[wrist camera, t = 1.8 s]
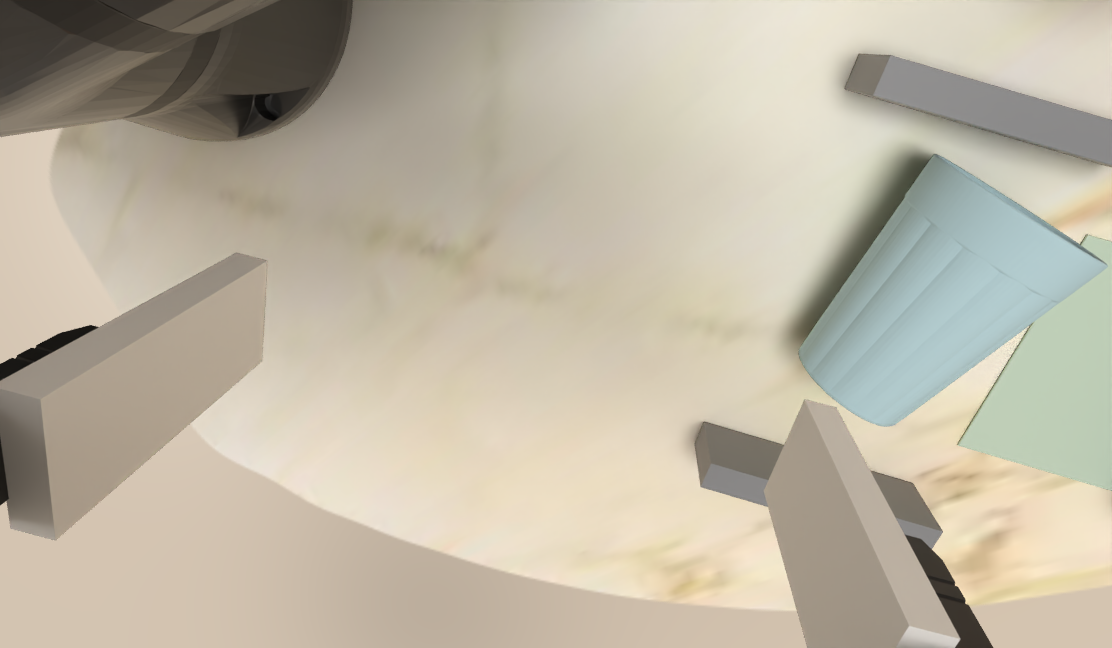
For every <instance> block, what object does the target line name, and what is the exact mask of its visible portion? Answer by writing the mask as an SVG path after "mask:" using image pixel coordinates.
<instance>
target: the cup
mask: <svg viewBox="0 0 1112 648" xmlns="http://www.w3.org/2000/svg"><path fill="white" fill-rule="evenodd" d="M1107 267H1108V265H1107V264H1106V263H1105V262H1104V261H1103V260H1101V259H1100V258H1098V257H1097V256H1096V255H1094V254H1093V253H1091V252H1090V251H1089V250H1087V249H1086V248H1084V247H1083V246H1081V245H1080V244H1078V243H1077V242H1075V241H1074V240H1072V239H1071V238H1069V237H1068V236H1066V235H1065V234H1063V233H1062V232H1060V231H1059V230H1057V229H1056V228H1054V227H1053V226H1051V225H1050V224H1048V223H1047V222H1045V221H1044V220H1042V219H1041V218H1039V217H1037V216H1036V215H1034V214H1033V213H1031V212H1030V211H1028V210H1027V209H1025V208H1024V207H1022V206H1021V205H1019V204H1017V203H1016V202H1014V201H1013V200H1011V199H1010V198H1008V197H1006V196H1005V195H1003V194H1002V193H1000V192H999V191H997V190H995V189H994V188H992V187H991V186H989V185H987V184H986V183H984V182H983V181H981V180H980V179H978V178H976V177H975V176H973V175H971V174H970V173H968V172H967V171H965V170H963V169H962V168H960V167H958V166H957V165H955V164H953V163H952V162H950V161H948V160H947V159H945V158H943V157H941V156H939V155H937V154H934V155H933V156H932V157H931V159H930V160H929V162H928V163H927V165H926V166H925V167H924V169H923V170H922V172H921V173H920V175H919V176H918V177H917V179H916V180H915V182H914V183H913V185H912V186H911V188H910V189H909V190H908V192H907V193H906V195H905V198H904V199H903V201H902V202H901V203H900V205H899V206H898V208H897V209H896V211H895V212H894V213H893V215H892V216H891V218H890V219H889V221H888V222H887V223H886V225H885V226H884V228H883V229H882V231H881V232H880V233H879V235H878V236H877V238H876V239H875V241H874V242H873V243H872V245H871V246H870V248H869V249H868V251H867V252H866V253H865V255H864V256H863V258H862V259H861V261H860V262H859V263H858V265H857V266H856V268H855V269H854V271H853V272H852V273H851V275H850V276H849V278H848V279H847V281H846V282H845V283H844V285H843V286H842V288H841V289H840V291H839V292H838V293H837V295H836V296H835V298H834V299H833V300H832V302H831V303H830V305H829V306H828V308H827V309H826V310H825V312H824V313H823V315H822V316H821V318H820V319H819V320H818V322H817V323H816V325H815V326H814V328H813V329H812V331H811V332H810V333H809V335H808V336H807V338H806V339H805V341H804V342H803V344H802V345H801V347H800V349H799V357H800V360H801V362H802V364H803V366H804V368H805V369H806V371H807V372H808V373H809V375H810V376H811V377H812V378H813V380H814V381H815V382H816V383H817V384H818V385H819V386H820V387H821V388H822V389H823V390H824V391H825V392H826V393H827V394H828V395H829V396H831V397H832V398H833V399H834V400H835V401H837V402H838V403H839V404H841V405H842V406H843V407H845V408H846V409H847V410H849V411H850V412H852V413H853V414H855V415H857V416H858V417H860V418H862V419H864V420H866V421H868V422H870V423H873V424H876V425H879V426H886V427H887V426H893V425H895V424H896V423H898V422H899V421H901V420H902V419H904V418H905V417H906V416H908V415H909V414H910V413H912V412H913V411H915V410H916V409H917V408H919V407H920V406H921V405H923V404H924V403H925V402H927V401H928V400H930V399H931V398H932V397H934V396H935V395H936V394H938V393H939V392H940V391H942V390H943V389H944V388H946V387H947V386H948V385H950V384H951V383H952V382H954V381H955V380H956V379H958V378H959V377H961V376H962V375H963V374H965V373H966V372H967V371H969V370H970V369H971V368H973V367H974V366H975V365H977V364H978V363H979V362H981V361H982V360H983V359H985V358H986V357H987V356H989V355H990V354H991V353H993V352H994V351H995V350H997V349H998V348H1000V347H1001V346H1002V345H1004V344H1005V343H1006V342H1008V341H1009V340H1010V339H1012V338H1013V337H1014V336H1016V335H1017V334H1018V333H1020V332H1021V331H1022V330H1024V329H1025V328H1026V327H1028V326H1029V325H1030V324H1032V323H1033V322H1034V321H1036V320H1037V319H1039V318H1040V317H1041V316H1043V315H1044V314H1045V313H1047V312H1048V311H1049V310H1051V309H1052V308H1053V307H1055V306H1056V305H1057V304H1059V303H1060V302H1062V301H1063V300H1064V299H1066V298H1067V297H1069V296H1070V295H1071V294H1073V293H1074V292H1075V291H1077V290H1078V289H1079V288H1081V287H1082V286H1083V285H1085V284H1086V283H1087V282H1089V281H1090V280H1091V279H1093V278H1094V277H1096V276H1097V275H1098V274H1100V273H1101V272H1102V271H1104V270H1105V269H1106V268H1107Z"/></svg>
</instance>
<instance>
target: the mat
mask: <svg viewBox="0 0 1112 648" xmlns="http://www.w3.org/2000/svg"><path fill="white" fill-rule="evenodd" d="M1081 246H1083V247H1084V248H1086V249H1087V250H1089V251H1090V252H1091V253H1093V254H1094V255H1096V256H1097V257H1098V258H1100V259H1101V260H1103V261H1104V262H1105V263H1106V264H1107V265H1108V267H1107V268H1106V269H1105V270H1104V271H1102V272H1101V273H1100V274H1098V275H1097V276H1096V277H1094V278H1093V279H1091V280H1090V281H1089V282H1087V283H1086V284H1085V285H1083V286H1082V287H1081V288H1079V289H1078V290H1077V291H1075V292H1074V293H1073V294H1071V295H1070V296H1069V297H1067V298H1066V299H1064V300H1063V301H1062V302H1060V303H1059V304H1057V305H1056V306H1055V307H1053V308H1052V309H1051V310H1049V311H1048V312H1047V313H1045V314H1044V315H1043V316H1041V317H1040V318H1039V319H1037V320H1036V321H1034V322H1033V323H1032V324H1031V326H1030V327H1029V329H1028V331H1027V332H1026V334H1025V336H1024V337H1023V339H1022V340H1021V342H1020V344H1019V345H1018V347H1017V349H1016V350H1015V352H1014V353H1013V355H1012V357H1011V358H1010V360H1009V362H1008V363H1007V365H1006V366H1005V368H1004V370H1003V371H1002V373H1001V375H1000V376H999V378H998V379H997V381H996V383H995V384H994V386H993V388H992V389H991V391H990V392H989V394H988V396H987V397H986V399H985V401H984V402H983V404H982V405H981V407H980V409H979V410H978V412H977V414H976V415H975V417H974V418H973V420H972V422H971V423H970V425H969V427H968V428H967V430H966V431H965V433H964V435H963V436H962V438H961V440H960V441H959V443H958V444H957V445H958V446H961V447H965V448H968V449H972V450H975V451H978V452H982V453H985V454H989V455H992V456H995V457H999V458H1002V459H1006V460H1009V461H1012V462H1016V463H1019V464H1023V465H1026V466H1029V467H1033V468H1036V469H1040V470H1043V471H1046V472H1050V473H1053V474H1057V475H1060V476H1063V477H1067V478H1070V479H1073V480H1077V481H1080V482H1084V483H1087V484H1090V485H1094V486H1097V487H1101V488H1104V489H1107V490H1111V491H1112V242H1110V241H1107V240H1103V239H1100V238H1097V237H1093V236H1090V235H1086V236H1085V238H1084V240H1083V241H1082V243H1081Z"/></svg>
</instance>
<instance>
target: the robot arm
mask: <svg viewBox="0 0 1112 648" xmlns="http://www.w3.org/2000/svg"><path fill="white" fill-rule="evenodd" d="M352 4H353V0H0V137H3V136H10V135H17V134H23V133H30V132H37V131H43V130H50V129H57V128H64V127H71V126H77V125H84V124H91V123H98V122H104V121H109V120H116V119H125V120H128V121H131V122H134V123H138V124H141V125H144V126H148V127H151V128H154V129H157V130H161V131H164V132H167V133H171V134H174V135H177V136H181V137H185V138H190V139H195V140H204V141H237V140H243V139H249V138H253V137H257V136H261V135H264V134H267V133H270V132H273V131H275V130H277V129H279V128H281V127H283V126H285V125H287V124H289V123H290V122H292V121H293V120H295V119H296V118H298V117H299V116H300V115H301V114H303V113H304V112H305V111H306V110H307V109H308V108H309V107H310V106H311V105H312V104H313V103H314V102H315V101H316V100H317V99H318V98H319V96H320V95H321V94H322V93H323V91H324V90H325V88H326V87H327V85H328V84H329V82H330V80H331V79H332V77H333V75H334V73H335V71H336V69H337V67H338V65H339V63H340V60H341V58H342V55H343V52H344V49H345V46H346V42H347V38H348V34H349V29H350V23H351V15H352ZM267 262H268V261H267V260H263V259H259V258H255V257H251V256H247V255H243V254H240V253H235V254H233V255H231V256H229V257H228V258H226V259H224V260H222V261H220V262H218V263H217V264H215V265H213V266H211V267H209V268H207V269H206V270H204V271H202V272H200V273H198V274H196V275H194V276H193V277H191V278H189V279H187V280H185V281H183V282H182V283H180V284H178V285H176V286H174V287H172V288H170V289H169V290H167V291H165V292H163V293H161V294H159V295H158V296H156V297H154V298H152V299H150V300H148V301H147V302H145V303H143V304H141V305H139V306H137V307H135V308H134V309H132V310H130V311H128V312H126V313H124V314H123V315H121V316H119V317H117V318H115V319H113V320H112V321H110V322H108V323H106V324H104V325H102V326H100V327H96V326H92V325H89V326H85V327H82V328H78V329H74V330H70V331H66V332H62V333H60V334H57V335H56V336H54V337H52V338H50V339H48V340H46V341H44V342H42V343H40V344H38V345H36V348H30V349H28V350H26V351H24V352H23V353H21V354H19V355H17V357H16V359H14V358H11V359H9V360H7V361H5V362H3V363H1V364H0V505H1V504H3V503H4V502H5V501H7V506H8V513H9V521H10V528H11V529H14V530H18V531H22V532H25V533H29V534H33V535H37V536H41V537H44V538H48V539H52V540H57V539H58V538H59V537H60V536H61V535H62V534H64V533H65V532H66V531H67V530H68V529H69V528H70V527H72V526H73V525H74V524H75V523H76V522H77V521H78V520H80V519H81V518H82V517H83V516H84V515H85V514H86V513H88V512H89V511H90V510H91V509H92V508H93V507H95V506H96V505H97V504H98V503H99V502H100V501H102V500H103V499H104V498H105V497H106V496H107V495H108V494H110V493H111V492H112V491H113V490H114V489H115V488H117V487H118V486H119V485H120V484H121V483H122V482H123V481H125V480H126V479H127V478H128V477H129V476H130V475H131V474H133V473H134V472H135V471H136V470H137V469H138V468H140V467H141V466H142V465H143V464H144V463H145V462H146V461H147V460H149V459H150V458H151V457H152V456H153V455H155V454H156V453H157V452H158V451H159V450H160V449H161V448H163V447H164V446H165V445H166V444H167V443H168V442H169V441H171V440H172V439H173V438H174V437H175V436H176V435H178V434H179V433H180V432H181V431H182V430H183V429H184V428H186V427H187V426H188V425H189V424H190V423H191V422H192V421H194V420H195V419H196V418H197V417H198V416H199V415H201V414H202V413H203V412H204V411H205V410H206V409H207V408H209V407H210V406H211V405H212V404H213V403H214V402H216V401H217V400H218V399H219V398H220V397H221V396H222V395H224V394H225V393H226V392H227V391H228V390H229V389H230V388H232V387H233V386H234V385H235V384H236V383H237V382H239V381H240V380H241V379H242V378H243V377H244V376H245V375H247V374H248V373H249V372H250V371H251V370H252V369H254V368H255V367H256V366H257V365H258V364H259V363H260V362H262V356H263V337H264V318H265V300H266V281H267ZM764 494H765V498H766V501H767V505H768V508H769V512H770V516H771V519H772V523H773V526H774V530H775V534H776V537H777V541H778V544H779V548H780V551H781V555H782V559H783V562H784V566H785V569H786V573H787V577H788V580H789V584H790V587H791V591H792V595H793V598H794V602H795V605H796V609H797V613H798V616H799V620H800V623H801V627H802V630H803V634H804V638H805V641H806V644H807V648H993V646H992V645H991V643H990V641H989V639H988V638H987V636H986V634H985V633H984V631H983V629H982V627H981V626H980V624H979V622H978V621H977V619H976V617H975V615H974V614H973V612H972V610H971V609H970V607H969V605H967V604H965V601H966V600H965V598H964V597H963V595H962V593H961V591H960V590H959V588H958V587H957V586H955V581H954V579H953V578H952V576H951V574H950V572H949V571H948V569H947V567H946V566H945V564H944V562H943V560H942V559H941V558H940V557H939V556H938V555H937V554H936V553H935V552H934V551H933V550H932V549H931V548H930V547H929V546H928V545H927V544H926V543H925V542H924V541H923V540H922V539H920V538H916V537H912V536H908V535H904V533H903V531H902V529H901V527H900V525H899V523H898V522H897V520H896V518H895V516H894V514H893V512H892V510H891V509H890V507H889V505H888V503H887V501H886V499H885V497H884V495H883V494H882V492H881V490H880V488H879V486H878V484H877V482H876V481H875V479H874V477H873V475H872V473H871V471H870V469H869V468H868V466H867V464H866V462H865V460H864V458H863V456H862V454H861V453H860V451H859V449H858V447H857V445H856V443H855V441H854V440H853V438H852V436H851V434H850V432H849V430H848V428H847V427H846V425H845V423H844V421H843V419H842V417H841V415H840V413H839V412H838V410H837V408H836V407H833V406H829V405H825V404H821V403H817V402H813V401H809V400H804V402H803V404H802V406H801V409H800V411H799V413H798V415H797V418H796V420H795V422H794V424H793V427H792V429H791V431H790V433H789V435H788V438H787V440H786V442H785V444H784V447H783V449H782V451H781V453H780V456H779V458H778V460H777V462H776V465H775V467H774V469H773V471H772V473H771V476H770V478H769V480H768V482H767V485H766V487H765V489H764Z"/></svg>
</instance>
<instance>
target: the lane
mask: <svg viewBox="0 0 1112 648" xmlns="http://www.w3.org/2000/svg"><path fill="white" fill-rule="evenodd" d="M845 89H846V90H849V91H853V92H856V93H860V94H863V95H866V96H870V97H873V98H877V99H880V100H883V101H887V102H890V103H894V104H897V105H900V106H904V107H907V108H911V109H914V110H917V111H921V112H924V113H928V114H931V115H934V116H938V117H941V118H945V119H948V120H952V121H955V122H958V123H962V124H965V125H969V126H972V127H975V128H979V129H982V130H986V131H989V132H992V133H996V134H999V135H1003V136H1006V137H1009V138H1013V139H1016V140H1020V141H1023V142H1026V143H1030V144H1033V145H1037V146H1040V147H1044V148H1047V149H1050V150H1054V151H1057V152H1061V153H1064V154H1067V155H1071V156H1074V157H1078V158H1081V159H1084V160H1088V161H1091V162H1095V163H1098V164H1101V165H1105V166H1109V167H1112V120H1110V119H1106V118H1103V117H1099V116H1096V115H1093V114H1089V113H1086V112H1082V111H1079V110H1076V109H1072V108H1069V107H1065V106H1062V105H1059V104H1055V103H1052V102H1048V101H1045V100H1041V99H1038V98H1035V97H1031V96H1028V95H1024V94H1021V93H1018V92H1014V91H1011V90H1007V89H1004V88H1001V87H997V86H994V85H990V84H987V83H984V82H980V81H977V80H973V79H970V78H966V77H963V76H960V75H956V74H953V73H949V72H946V71H943V70H939V69H936V68H932V67H929V66H926V65H922V64H919V63H915V62H912V61H909V60H905V59H902V58H898V57H895V56H892V55H873V54H859V55H858V58H857V60H856V63H855V65H854V67H853V70H852V72H851V74H850V77H849V79H848V82H847V84H846V86H845ZM783 447H784V445H781V444H778V443H774V442H771V441H767V440H764V439H761V438H757V437H754V436H751V435H747V434H744V433H740V432H737V431H734V430H730V429H727V428H723V427H720V426H717V425H713V424H710V423H706V422H704V423H703V425H702V428H701V430H700V432H699V435H698V437H697V440H696V442H695V449H696V457H697V464H698V471H699V478H700V486H701V487H702V488H706V489H709V490H713V491H716V492H719V493H723V494H726V495H730V496H733V497H736V498H740V499H743V500H747V501H750V502H753V503H757V504H760V505H764V506H767V507H768V505H767V501H766V498H765V494H764V489H765V487H766V485H767V482H768V480H769V478H770V476H771V473H772V471H773V469H774V467H775V465H776V462H777V460H778V458H779V456H780V453H781V451H782V449H783ZM871 473H872V475H873V477H874V479H875V481H876V482H877V484H878V486H879V488H880V490H881V492H882V494H883V495H884V497H885V499H886V501H887V503H888V505H889V507H890V509H891V510H892V512H893V514H894V516H895V518H896V520H897V522H898V523H899V525H900V527H901V529H902V531H903V533H904V535H908V536H912V537H916V538H920V539H922V540H923V541H924V542H925V543H926V544H927V545H928V546H929V547H930V548H931V549H932V548H933V547H934V545H935V543H936V542H937V540H938V539H939V537H940V536H941V534H942V533H943V531H942V529H941V528H940V526H939V524H938V523H937V521H936V520H935V518H934V516H933V515H932V513H931V512H930V510H929V508H928V507H927V505H926V504H925V502H924V500H923V499H922V497H921V496H920V494H919V492H918V491H917V489H916V487H915V486H914V484H913V483H910V482H907V481H903V480H900V479H896V478H893V477H890V476H886V475H883V474H879V473H876V472H873V471H871Z"/></svg>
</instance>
